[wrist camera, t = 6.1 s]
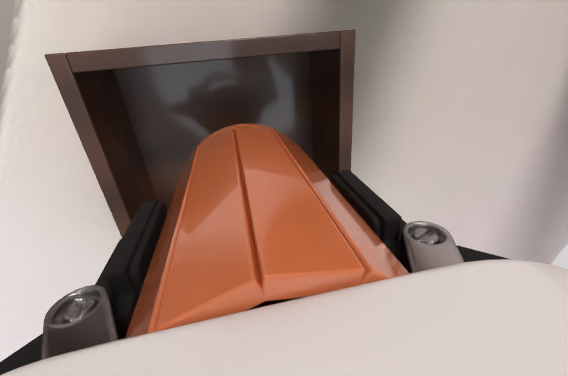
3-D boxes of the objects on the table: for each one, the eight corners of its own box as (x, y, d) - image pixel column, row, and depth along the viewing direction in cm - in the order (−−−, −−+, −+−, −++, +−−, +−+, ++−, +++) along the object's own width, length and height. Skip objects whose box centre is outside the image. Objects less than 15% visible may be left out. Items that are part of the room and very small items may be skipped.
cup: (277, 98, 13) (410, 201, 4) (324, 203, 16) (459, 396, 7) (155, 162, 13) (3, 407, 4) (225, 254, 16) (230, 509, 7)
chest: (98, 55, 19) (43, 54, 13) (316, 37, 21) (355, 29, 15) (162, 239, 26) (145, 295, 20) (320, 209, 29) (348, 250, 22)
